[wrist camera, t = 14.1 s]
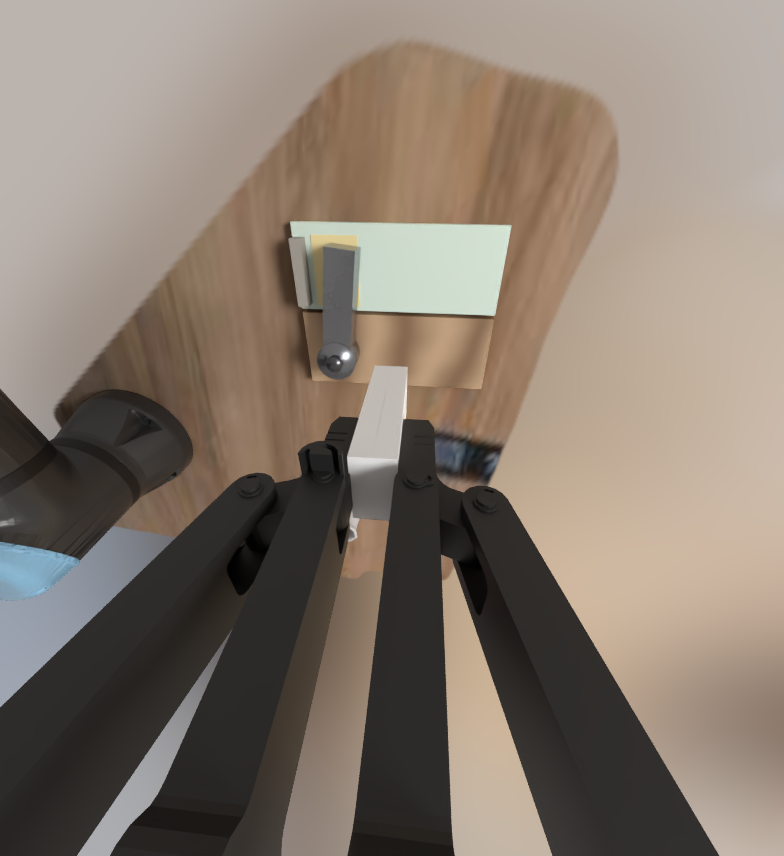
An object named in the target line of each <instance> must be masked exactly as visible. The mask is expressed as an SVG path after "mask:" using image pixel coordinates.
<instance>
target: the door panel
mask: <svg viewBox="0 0 784 856" xmlns="http://www.w3.org/2000/svg"><path fill="white" fill-rule="evenodd" d="M290 224H291V232H292V237H291V238H288V239H289V246H290V253H291V260H292V266H293V273H294V280H295V287H296V294H297V300H298V307H302V309H323V246H325V245H327V244H329V243H337V244H344V245H350V246H357V247H361V251H360V269H359V286H358V304H357V311H383V312H411V313H438V314H466V315H494V316H495V312H496V307H497V301H498V296H499V290H500V285H501V280H502V274H503V269H504V263H505V258H506V253H507V247H508V242H509V236H510V231H511V225H497V224H440V223H384V222H327V221H291V222H290Z"/></svg>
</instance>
